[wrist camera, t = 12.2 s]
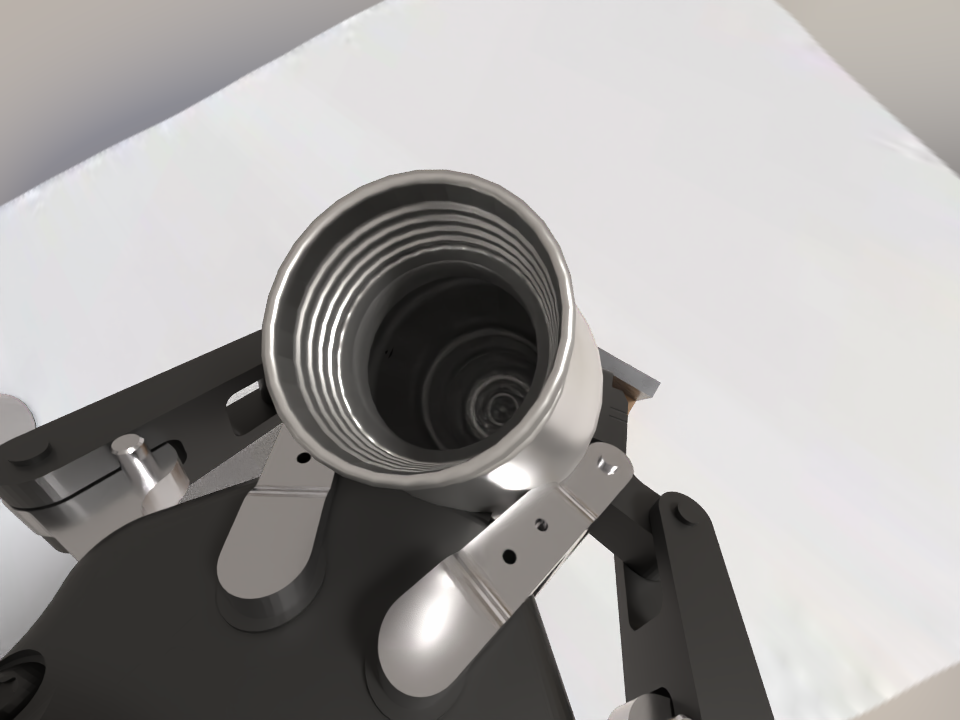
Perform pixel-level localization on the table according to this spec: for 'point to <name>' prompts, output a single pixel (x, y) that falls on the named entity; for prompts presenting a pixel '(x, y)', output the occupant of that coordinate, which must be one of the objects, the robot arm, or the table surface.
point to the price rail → (628, 378)
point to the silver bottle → (433, 343)
